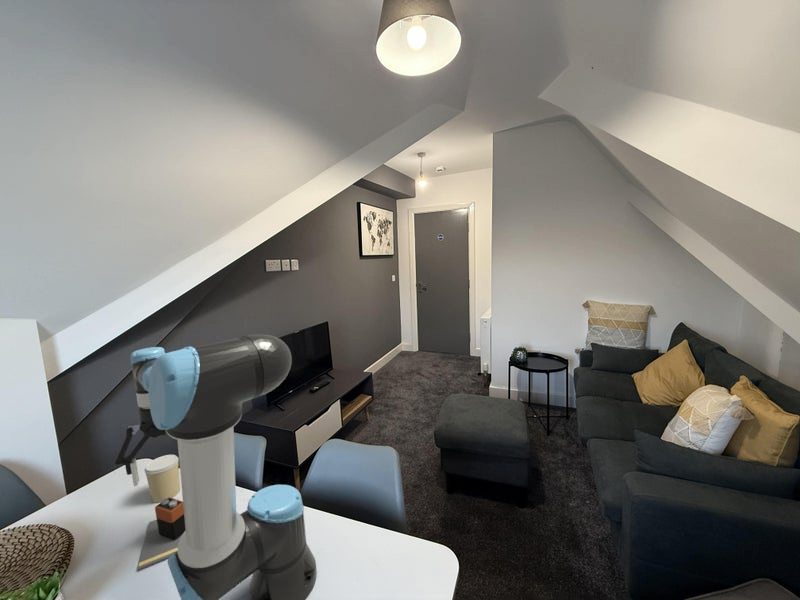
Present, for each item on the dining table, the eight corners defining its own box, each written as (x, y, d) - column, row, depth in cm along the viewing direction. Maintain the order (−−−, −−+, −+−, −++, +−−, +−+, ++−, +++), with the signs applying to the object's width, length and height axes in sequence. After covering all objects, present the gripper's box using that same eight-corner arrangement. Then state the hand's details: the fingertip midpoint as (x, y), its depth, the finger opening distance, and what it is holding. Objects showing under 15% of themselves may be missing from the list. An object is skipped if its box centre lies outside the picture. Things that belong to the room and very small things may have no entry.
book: (201, 545, 90) (200, 543, 90) (137, 571, 83) (137, 569, 83) (202, 504, 105) (202, 502, 105) (149, 523, 99) (149, 522, 98)
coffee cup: (189, 486, 115) (184, 454, 113) (166, 505, 106) (160, 472, 104) (167, 484, 117) (162, 453, 115) (142, 503, 108) (136, 470, 106)
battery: (174, 541, 91) (169, 509, 90) (158, 535, 93) (153, 504, 92) (189, 529, 95) (184, 498, 94) (173, 523, 97) (168, 493, 96)
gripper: (207, 387, 99) (216, 452, 102) (100, 410, 87) (113, 483, 89) (207, 396, 93) (216, 464, 95) (91, 422, 80) (105, 500, 83)
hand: (166, 473), depth 92 cm, fingers open, 13 cm apart
